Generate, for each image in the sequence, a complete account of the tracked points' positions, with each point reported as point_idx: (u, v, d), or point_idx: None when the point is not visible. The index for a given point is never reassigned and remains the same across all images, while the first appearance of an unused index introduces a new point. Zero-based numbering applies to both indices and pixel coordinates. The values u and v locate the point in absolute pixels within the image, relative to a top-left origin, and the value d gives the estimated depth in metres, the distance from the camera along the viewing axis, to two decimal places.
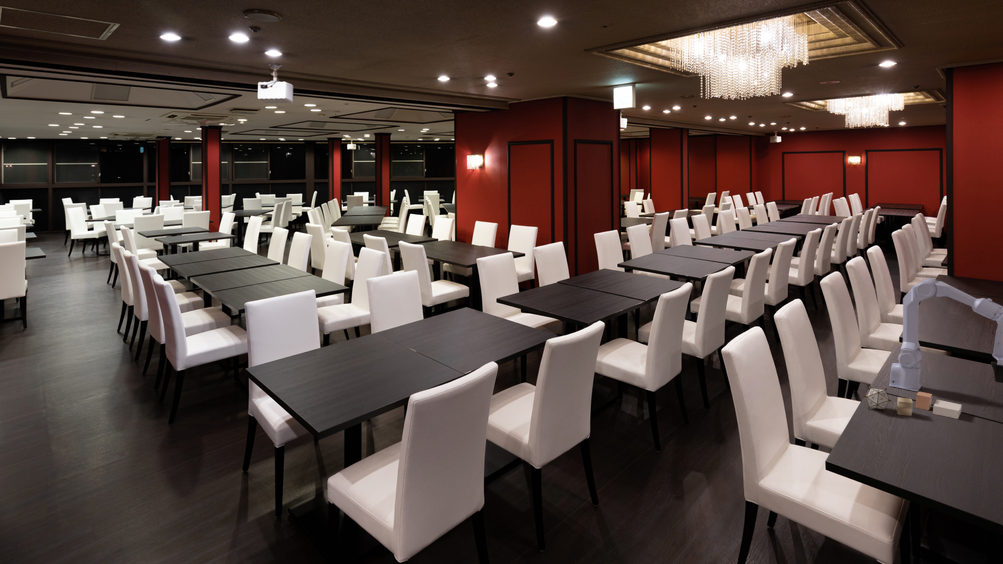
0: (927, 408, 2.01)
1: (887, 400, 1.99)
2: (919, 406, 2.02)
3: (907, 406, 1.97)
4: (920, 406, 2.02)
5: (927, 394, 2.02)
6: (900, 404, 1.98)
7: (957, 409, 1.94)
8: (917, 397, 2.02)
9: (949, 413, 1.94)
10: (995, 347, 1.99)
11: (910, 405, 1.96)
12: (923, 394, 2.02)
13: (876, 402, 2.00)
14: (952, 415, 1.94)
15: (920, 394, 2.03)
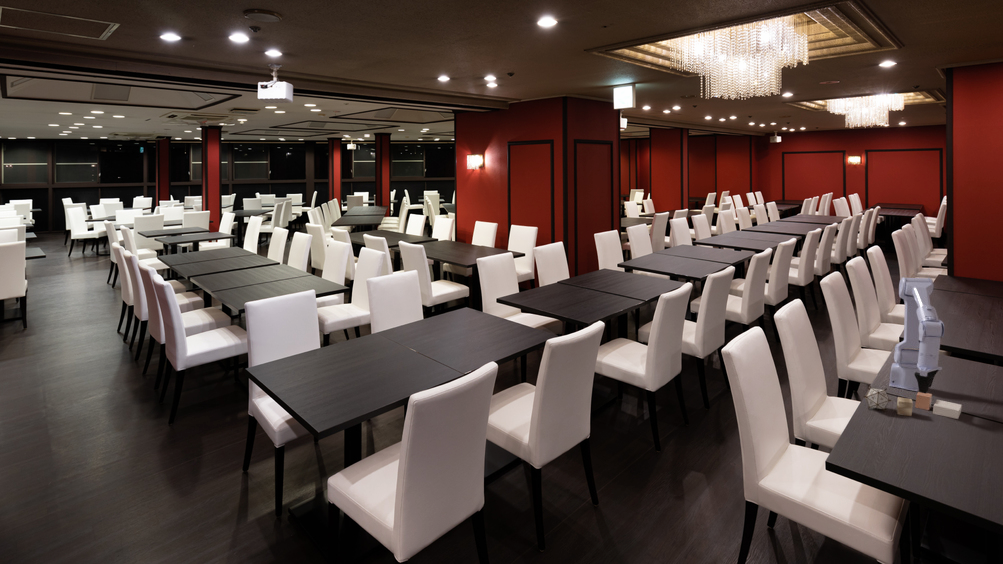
0: (927, 408, 2.01)
1: (887, 400, 1.99)
2: (919, 406, 2.02)
3: (907, 406, 1.97)
4: (920, 406, 2.02)
5: (927, 394, 2.02)
6: (900, 404, 1.98)
7: (957, 409, 1.94)
8: (917, 397, 2.02)
9: (949, 413, 1.94)
10: (919, 358, 2.00)
11: (910, 405, 1.96)
12: (923, 394, 2.02)
13: (876, 402, 2.00)
14: (952, 415, 1.94)
15: (920, 394, 2.03)
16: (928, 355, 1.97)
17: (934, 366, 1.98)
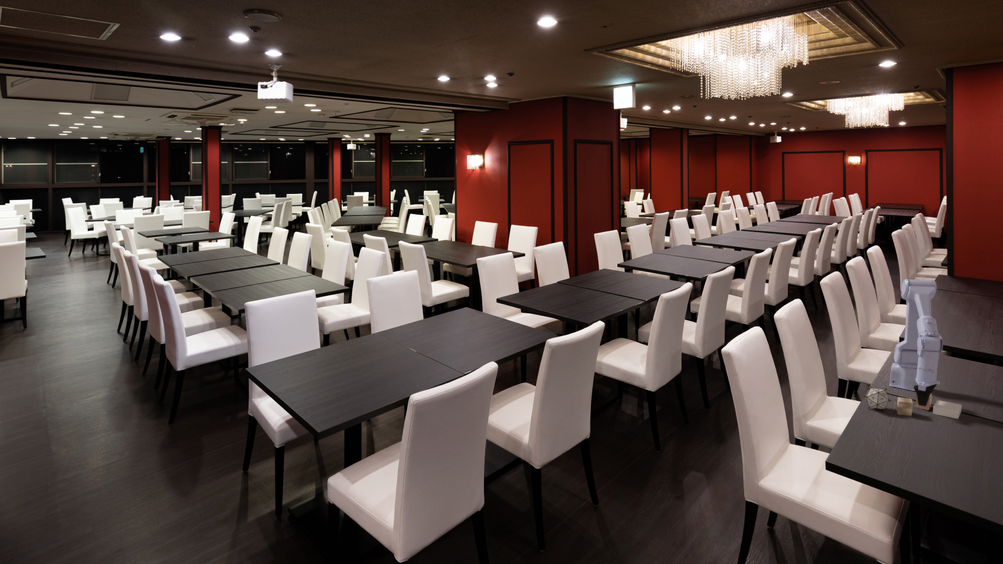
0: (927, 408, 2.01)
1: (887, 400, 1.99)
2: (919, 406, 2.02)
3: (907, 406, 1.97)
4: (920, 406, 2.02)
5: None
6: (900, 404, 1.98)
7: (957, 409, 1.94)
8: None
9: (949, 413, 1.94)
10: (917, 372, 2.02)
11: (910, 405, 1.96)
12: None
13: (876, 402, 2.00)
14: (952, 415, 1.94)
15: None
16: (926, 369, 1.98)
17: (932, 380, 1.99)
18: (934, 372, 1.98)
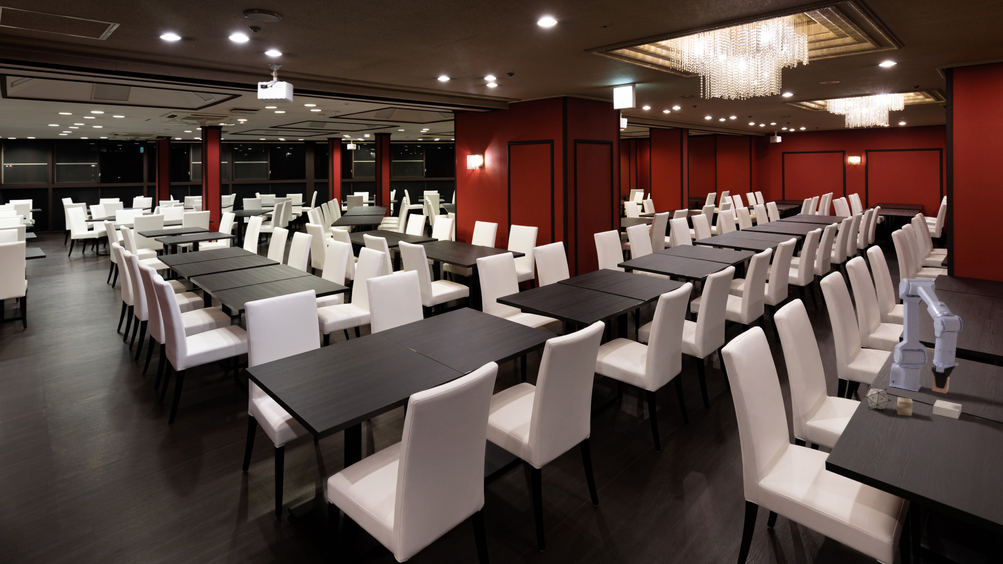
0: (944, 391, 1.96)
1: (887, 400, 1.99)
2: (936, 389, 1.97)
3: (907, 406, 1.97)
4: (937, 389, 1.97)
5: None
6: (900, 404, 1.98)
7: (957, 409, 1.94)
8: (934, 380, 1.97)
9: (949, 413, 1.94)
10: (935, 353, 1.96)
11: (910, 405, 1.96)
12: None
13: (876, 402, 2.00)
14: (952, 415, 1.94)
15: None
16: (945, 351, 1.93)
17: (951, 362, 1.93)
18: (952, 353, 1.93)
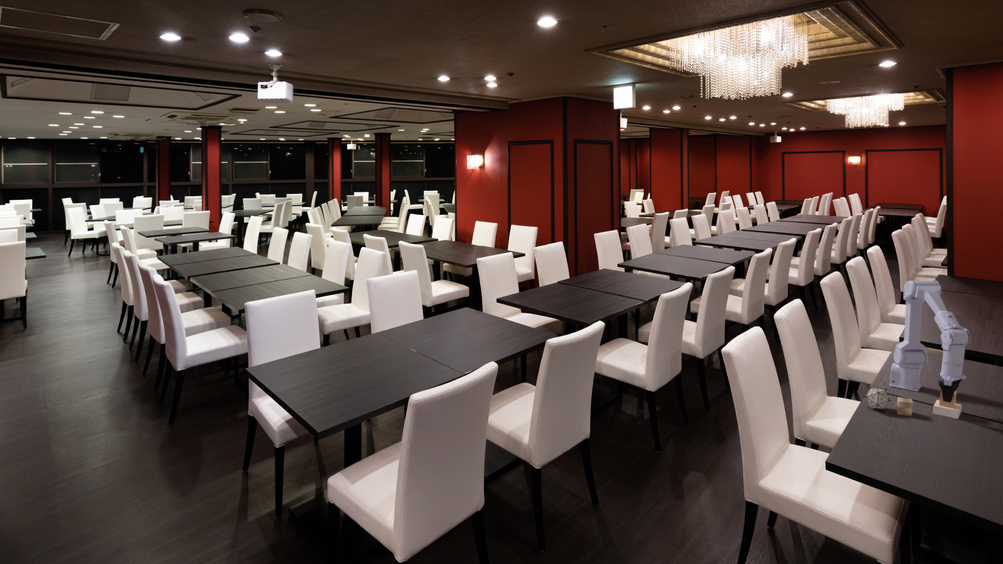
0: (952, 406, 1.95)
1: (887, 400, 1.99)
2: (943, 404, 1.96)
3: (907, 406, 1.97)
4: (944, 404, 1.96)
5: None
6: (900, 404, 1.98)
7: (957, 409, 1.94)
8: (941, 394, 1.96)
9: (949, 413, 1.94)
10: (942, 366, 1.95)
11: (910, 405, 1.96)
12: None
13: (876, 403, 2.00)
14: (952, 415, 1.94)
15: None
16: (952, 364, 1.92)
17: (958, 375, 1.92)
18: (960, 366, 1.92)
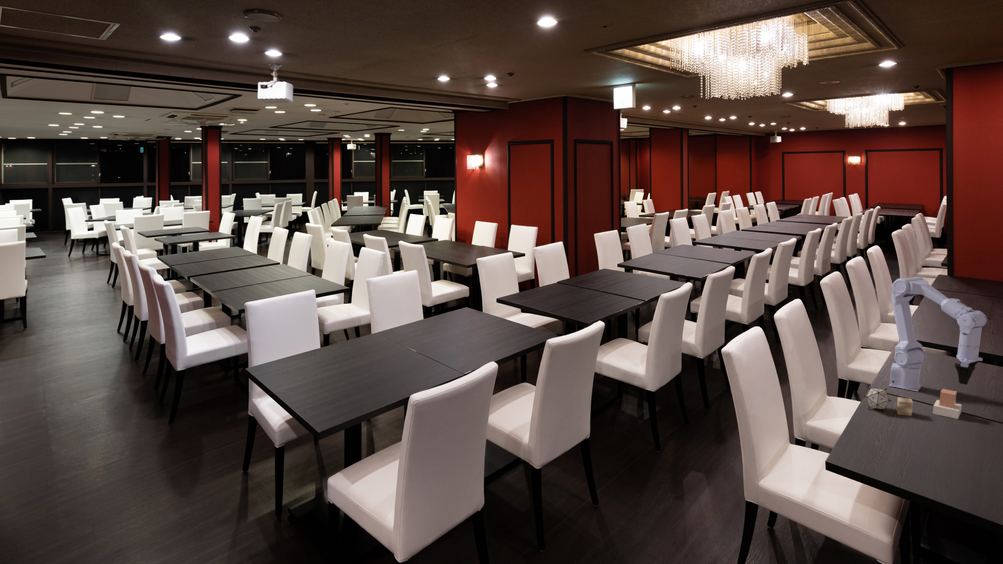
0: (952, 406, 1.95)
1: (887, 400, 1.99)
2: (943, 404, 1.96)
3: (907, 406, 1.97)
4: (944, 404, 1.96)
5: (951, 391, 1.96)
6: (900, 404, 1.98)
7: (957, 409, 1.94)
8: (941, 394, 1.96)
9: (949, 413, 1.94)
10: (959, 349, 1.99)
11: (910, 405, 1.96)
12: (947, 391, 1.96)
13: (876, 403, 2.00)
14: (952, 415, 1.94)
15: (944, 391, 1.97)
16: (969, 346, 1.96)
17: (975, 357, 1.96)
18: (977, 348, 1.96)
